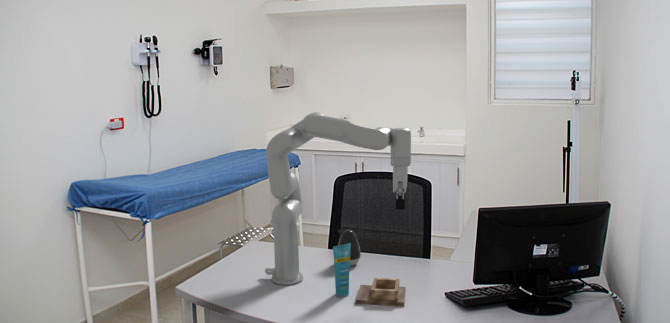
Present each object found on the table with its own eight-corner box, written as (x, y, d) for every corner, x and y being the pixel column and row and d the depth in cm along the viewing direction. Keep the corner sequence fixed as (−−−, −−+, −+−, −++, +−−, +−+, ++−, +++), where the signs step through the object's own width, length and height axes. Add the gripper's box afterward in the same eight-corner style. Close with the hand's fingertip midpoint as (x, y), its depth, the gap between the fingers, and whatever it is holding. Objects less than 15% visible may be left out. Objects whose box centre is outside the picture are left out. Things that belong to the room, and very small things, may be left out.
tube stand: (356, 303, 198) (356, 290, 197) (360, 288, 211) (360, 276, 210) (404, 306, 195) (404, 292, 194) (405, 290, 208) (405, 277, 208)
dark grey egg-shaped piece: (345, 258, 245) (344, 225, 242) (365, 262, 239) (364, 228, 236) (331, 265, 237) (331, 230, 234) (352, 270, 231) (351, 234, 228)
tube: (337, 298, 202) (336, 248, 199) (330, 294, 206) (329, 244, 203) (354, 293, 206) (353, 244, 203) (346, 289, 210) (346, 240, 207)
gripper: (391, 157, 215) (391, 200, 218) (389, 165, 199) (389, 211, 201) (411, 157, 214) (410, 200, 217) (410, 165, 198) (410, 212, 200)
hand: (400, 205), depth 209 cm, fingers open, 9 cm apart
